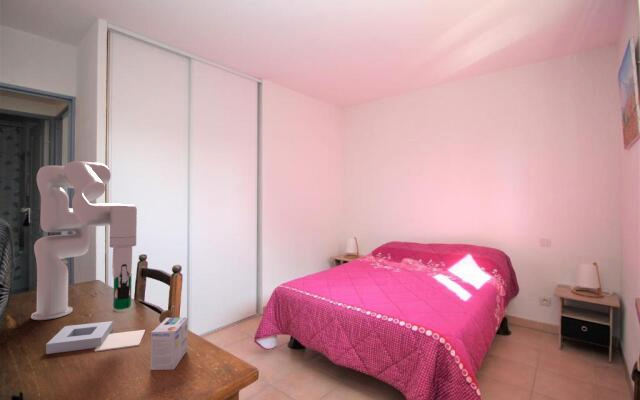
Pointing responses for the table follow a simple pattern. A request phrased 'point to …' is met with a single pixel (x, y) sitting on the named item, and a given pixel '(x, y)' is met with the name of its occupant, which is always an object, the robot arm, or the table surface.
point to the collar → (79, 337)
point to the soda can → (123, 302)
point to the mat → (121, 340)
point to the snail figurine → (167, 314)
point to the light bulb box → (168, 343)
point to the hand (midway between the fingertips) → (122, 296)
